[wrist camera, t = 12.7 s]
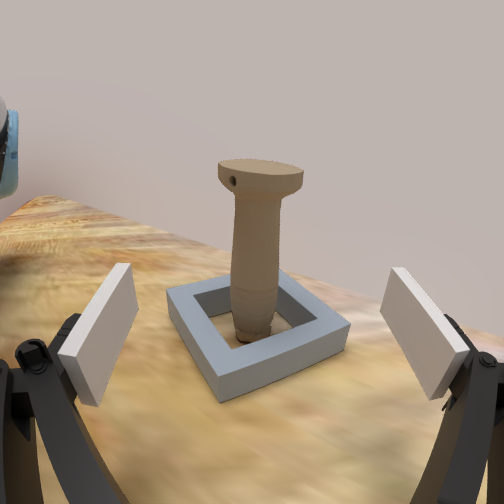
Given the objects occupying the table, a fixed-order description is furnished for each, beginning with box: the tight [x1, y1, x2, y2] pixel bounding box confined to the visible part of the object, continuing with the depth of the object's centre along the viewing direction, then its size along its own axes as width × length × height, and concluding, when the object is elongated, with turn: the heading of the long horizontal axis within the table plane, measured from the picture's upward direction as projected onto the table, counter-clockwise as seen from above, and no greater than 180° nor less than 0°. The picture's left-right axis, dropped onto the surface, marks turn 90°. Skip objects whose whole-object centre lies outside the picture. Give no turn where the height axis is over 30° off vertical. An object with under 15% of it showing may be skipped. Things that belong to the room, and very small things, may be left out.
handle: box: [218, 159, 304, 343], centre depth 25 cm, size 5×6×15 cm
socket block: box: [166, 268, 351, 403], centre depth 28 cm, size 12×12×3 cm
